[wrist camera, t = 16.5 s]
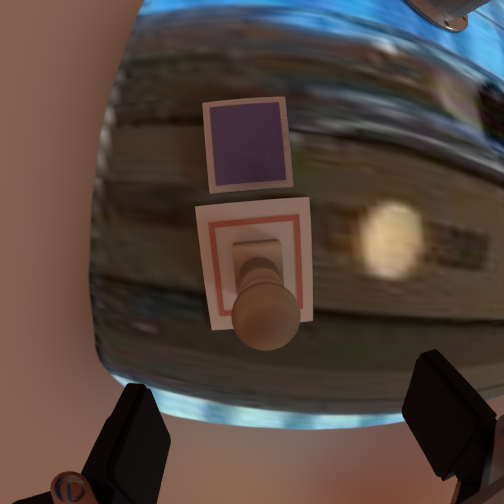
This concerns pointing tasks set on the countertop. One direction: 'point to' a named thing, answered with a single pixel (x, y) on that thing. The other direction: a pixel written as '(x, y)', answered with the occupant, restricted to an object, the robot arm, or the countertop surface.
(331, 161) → the countertop surface
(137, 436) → the robot arm
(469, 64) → the countertop surface
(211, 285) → the note card
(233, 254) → the stamp
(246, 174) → the ink pad
